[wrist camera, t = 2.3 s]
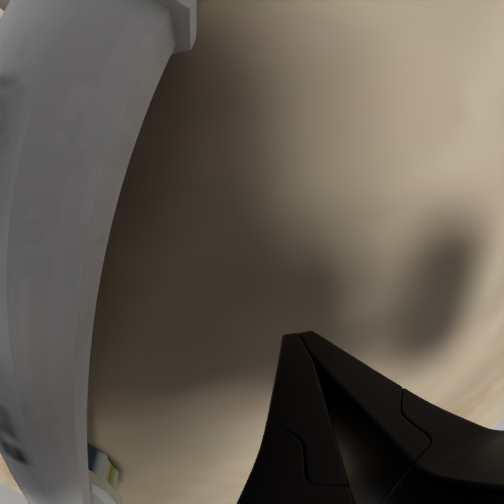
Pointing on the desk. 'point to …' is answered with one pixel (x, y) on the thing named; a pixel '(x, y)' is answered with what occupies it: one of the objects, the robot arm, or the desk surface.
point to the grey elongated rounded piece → (66, 215)
